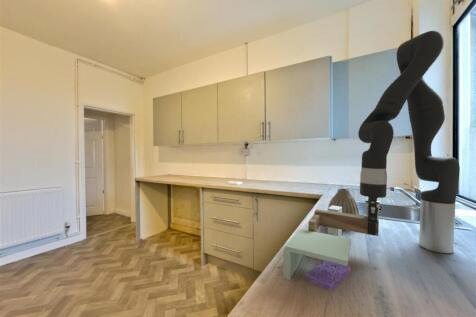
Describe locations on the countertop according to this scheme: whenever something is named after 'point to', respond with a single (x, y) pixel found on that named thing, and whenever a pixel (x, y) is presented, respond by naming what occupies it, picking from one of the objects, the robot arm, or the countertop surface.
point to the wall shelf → (314, 249)
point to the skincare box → (332, 230)
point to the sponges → (328, 274)
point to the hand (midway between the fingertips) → (371, 232)
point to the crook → (340, 221)
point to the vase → (345, 202)
